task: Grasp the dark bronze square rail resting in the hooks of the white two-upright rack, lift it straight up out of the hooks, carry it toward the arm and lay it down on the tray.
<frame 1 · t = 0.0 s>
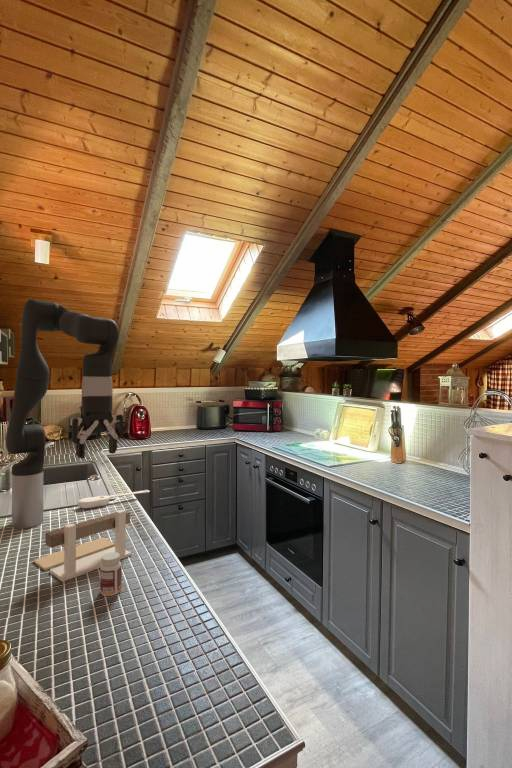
hand: (97, 455, 105), 29 cm above the counter, fingers open, 8 cm apart
rail: (90, 532, 107), point 8 cm above the counter, touching rack
rack: (96, 565, 106), on the counter
tray: (76, 553, 113), on the counter
pill bottle: (110, 591, 94), on the counter
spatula: (115, 503, 158), on the counter
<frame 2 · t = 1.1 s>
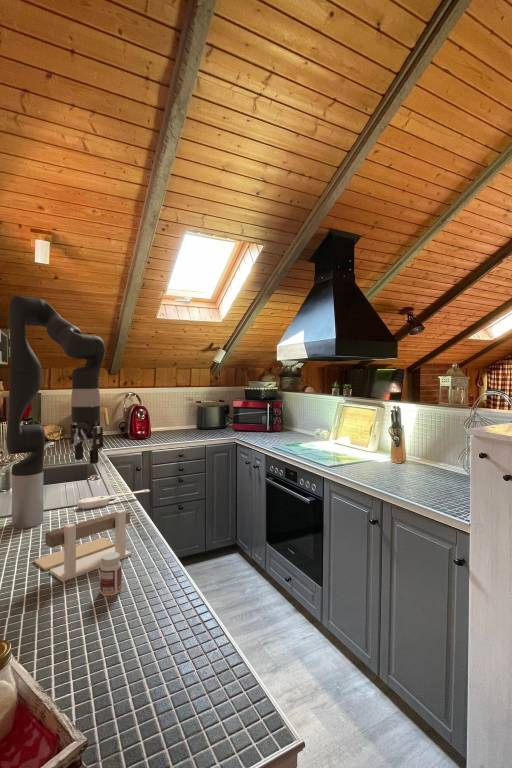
hand: (86, 461, 114), 26 cm above the counter, fingers open, 8 cm apart
nothing on the counter moved.
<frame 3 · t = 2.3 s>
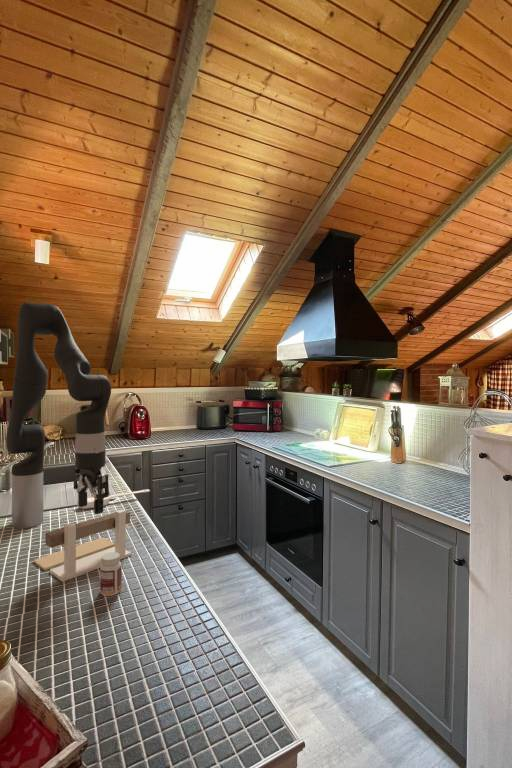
hand: (90, 509, 107), 14 cm above the counter, fingers open, 8 cm apart
nothing on the counter moved.
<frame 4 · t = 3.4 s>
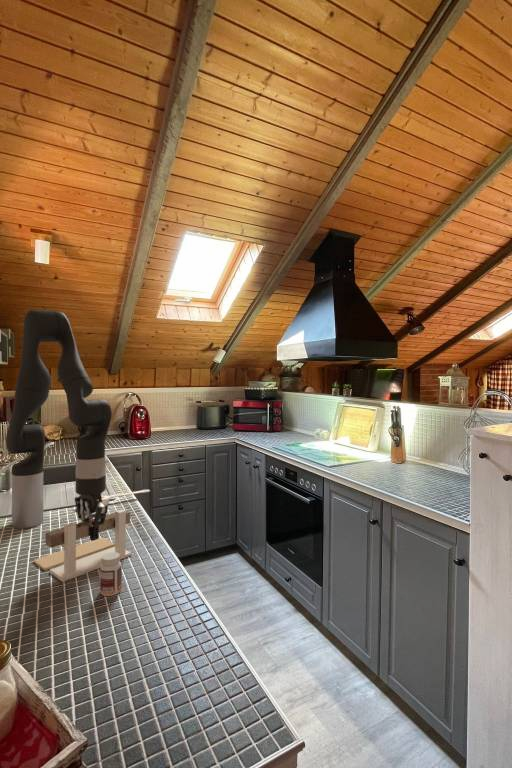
hand: (90, 537, 107), 7 cm above the counter, fingers closed on rail, 3 cm apart
rail: (90, 532, 107), point 8 cm above the counter, touching gripper, rack
everything else where it was.
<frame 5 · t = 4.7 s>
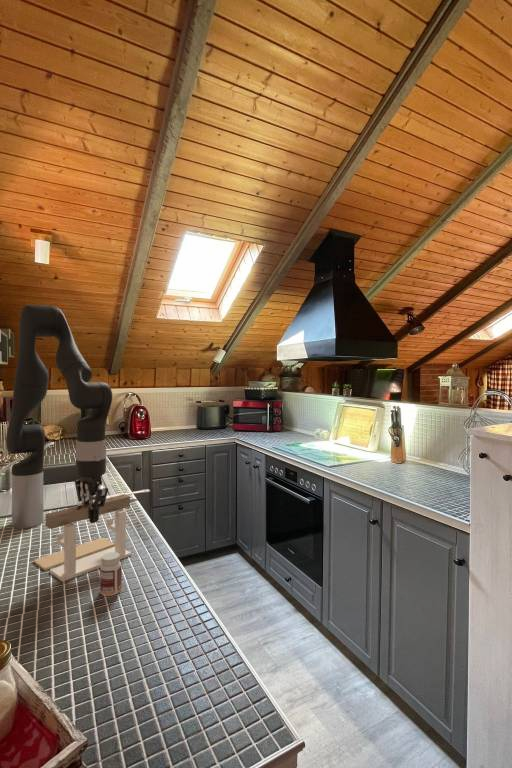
hand: (90, 520, 108), 11 cm above the counter, fingers closed on rail, 3 cm apart
rail: (90, 515, 107), point 13 cm above the counter, touching gripper
everything else where it was.
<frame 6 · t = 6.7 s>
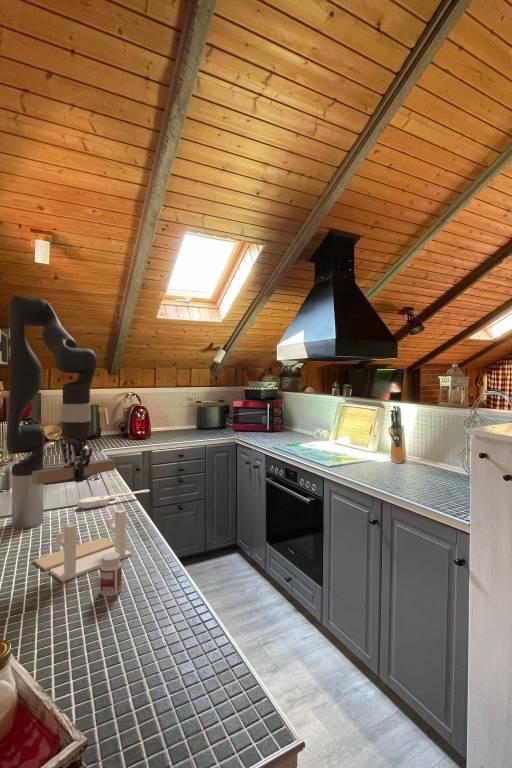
hand: (76, 480, 112), 21 cm above the counter, fingers closed on rail, 3 cm apart
rail: (76, 475, 112), point 22 cm above the counter, touching gripper
everything else where it was.
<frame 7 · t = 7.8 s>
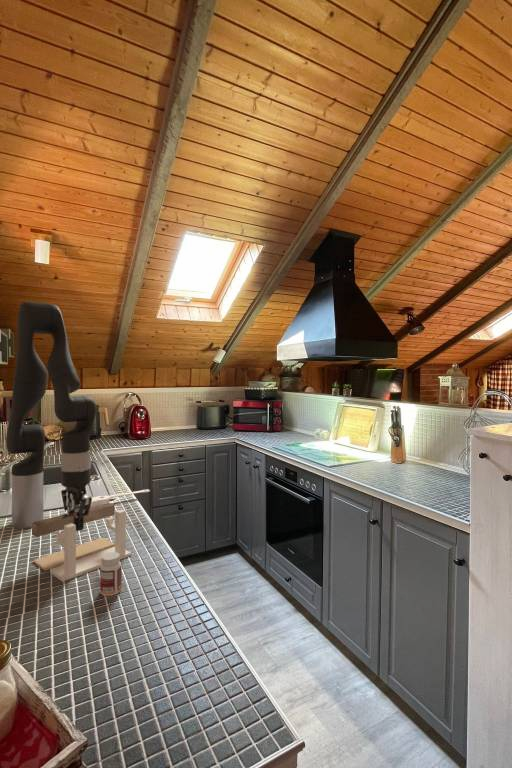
hand: (76, 528, 112), 7 cm above the counter, fingers closed on rail, 3 cm apart
rail: (76, 523, 112), point 9 cm above the counter, touching gripper
everything else where it was.
when the fingers open (1 cm above the counter, at t = 9.5 s): rail drops 2 cm, resting on tray.
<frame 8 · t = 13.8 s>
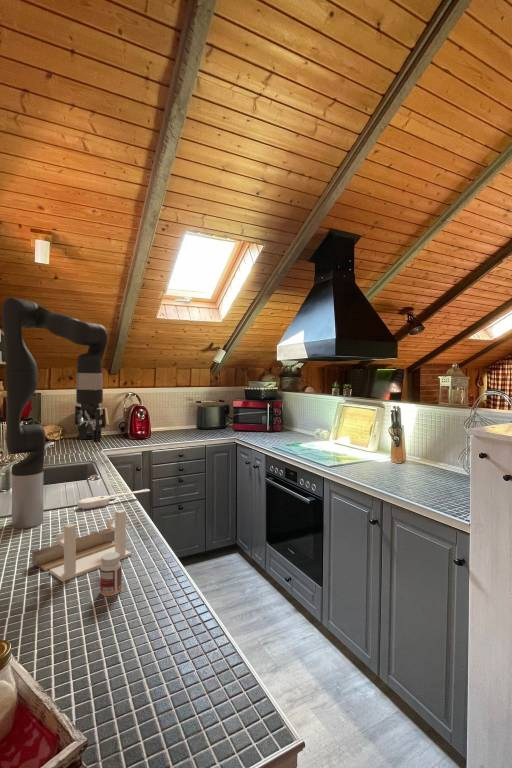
hand: (89, 440, 123), 30 cm above the counter, fingers open, 8 cm apart
rail: (76, 551, 113), point 1 cm above the counter, touching tray
everything else where it was.
at the end: rail inside the target area (0.2 cm from its centre), point 0.6 cm above the counter; the gripper is holding nothing; rail touching tray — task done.
